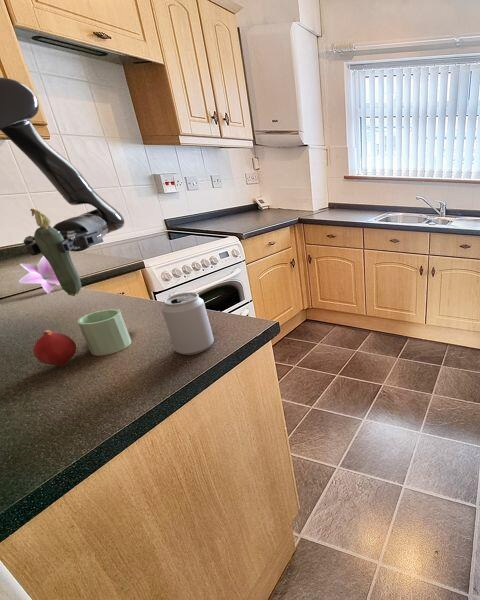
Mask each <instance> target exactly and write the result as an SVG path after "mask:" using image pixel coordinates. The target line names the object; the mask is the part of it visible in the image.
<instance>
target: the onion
mask: <svg viewBox="0 0 480 600" xmlns="http://www.w3.org/2000/svg"><path fill="white" fill-rule="evenodd" d="M32 352H33V355H34V357H35V358H36V359H37V360H38V361H39V362H40V363H42V364H46V365H51V366H58V367H63V366H66V365H67V364H68V363H69V362H70V361H71V359H72V358H73V357H74V355H75V354H76V352H77V345H76V343H75V341H74V340H73V339H72V338H71V337H70V336H68V335H66V334H63V333H59V332H54V331H52V330H49V329H47V330H44V331H43V333H42V335H41V336H40V337H39V338H38V339H37V340H36V341H35V344H34V346H33V350H32Z"/></svg>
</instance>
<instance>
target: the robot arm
mask: <svg viewBox="0 0 480 600" xmlns="http://www.w3.org/2000/svg"><path fill="white" fill-rule="evenodd" d="M39 109H40V103H39V100H38V97H37V96H36V93H34V91H33V90H32V89H31V88H29V87H28V86H27V85H25V84H24V83H22V82H20V81H18V80H15V79H12V78H7V77H0V132H1V133H2V134H3V135H4V136H6V137H7V139H9V140H10V141H11V142H12V143H13V144H14V145H15V146H16V147H17V149H19V150H20V151H21V152H22V153H23V154H24V155H25V156H26V157H27V158H28V159H29V160H30V161H31V162H32V163H33V164H34V166H36V168H38V170H39V171H40V172H41V173H42V174H43V175H44V176H45V177H46V179H47V180H48V181H49V182H50V184H51V185H52V186H53V188H55V190H56V191H57V192H58V193H59V195H60V196H62V197H61V198H63V199H64V200H65V202H67V203H68V204H69V205H71V206H81V205H90V206H92V207H94V208H95V209H92V210H89V211H88V212H87V211H86V212H85V213H82V214H80V215H77V216H73V217H69V218H67V219H64V220H62V221H58V222H57V223H55V224H54V225H53V226H52V228H54V229H56V230H57V231H59V232H60V234H61V235H62V236H63V238H64V240H63V241H61V242H59V243H58V246H59V248H60V250H61V252H62V253H67V252H68V251H69V252H82V251H86V250H87V249H89V248H90V247H92V246H95V245H98V244H103V242H104V237H105V236H106V235H107V234H110V233H113V232H115V231H118V230H121V229H122V228H124V226H125V218H124V216H123V215H122V214H121V212H120V211H118V210H117V208H115V207H114V206H112V205H111V204H110V203H108V202H107V201H106V200H105V199H104V198H102V197H101V195H99V193H97V192H96V191H95V189H93V187H92V186H91V184H90V183H89V182H88V181H87V180H86V179H85V177H84V175H83V174H82V173H81V172H80V171H79V170H78V168H77V167H76V166H75V165H73V163H71V162H70V161H69V160H68V159H67V158H65V157H64V156H63V155H62V154H60V153H59V152H58V151H56V149H54V148H53V147H52V146H51V145H49V143H48V142H47V141H46V140H45V139H44V138H43V137H42V135H41V134H40V133H39V132H38V130H37V129H36V128H35V126H34V124H33V123H32V121H31V120H33V119H34V118H35V117H36V116H37V115H38V112H39ZM22 242H23V244H24V246H25V249H26V251H27V253H28V254H29V255H31V256H39V255H40V254H42V253H41V251H40V249H39V248H38V246H37V244H36V242H35V238H34V235H28V236H26V237H25V238H24V240H23V241H22Z"/></svg>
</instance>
